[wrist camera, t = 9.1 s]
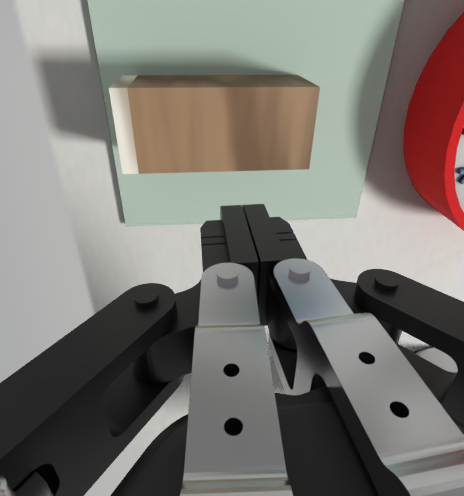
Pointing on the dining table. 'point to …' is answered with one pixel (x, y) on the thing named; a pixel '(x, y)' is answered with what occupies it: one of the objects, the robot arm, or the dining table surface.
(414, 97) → the toy clock
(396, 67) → the dining table surface
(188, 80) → the wooden block
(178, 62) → the mat
